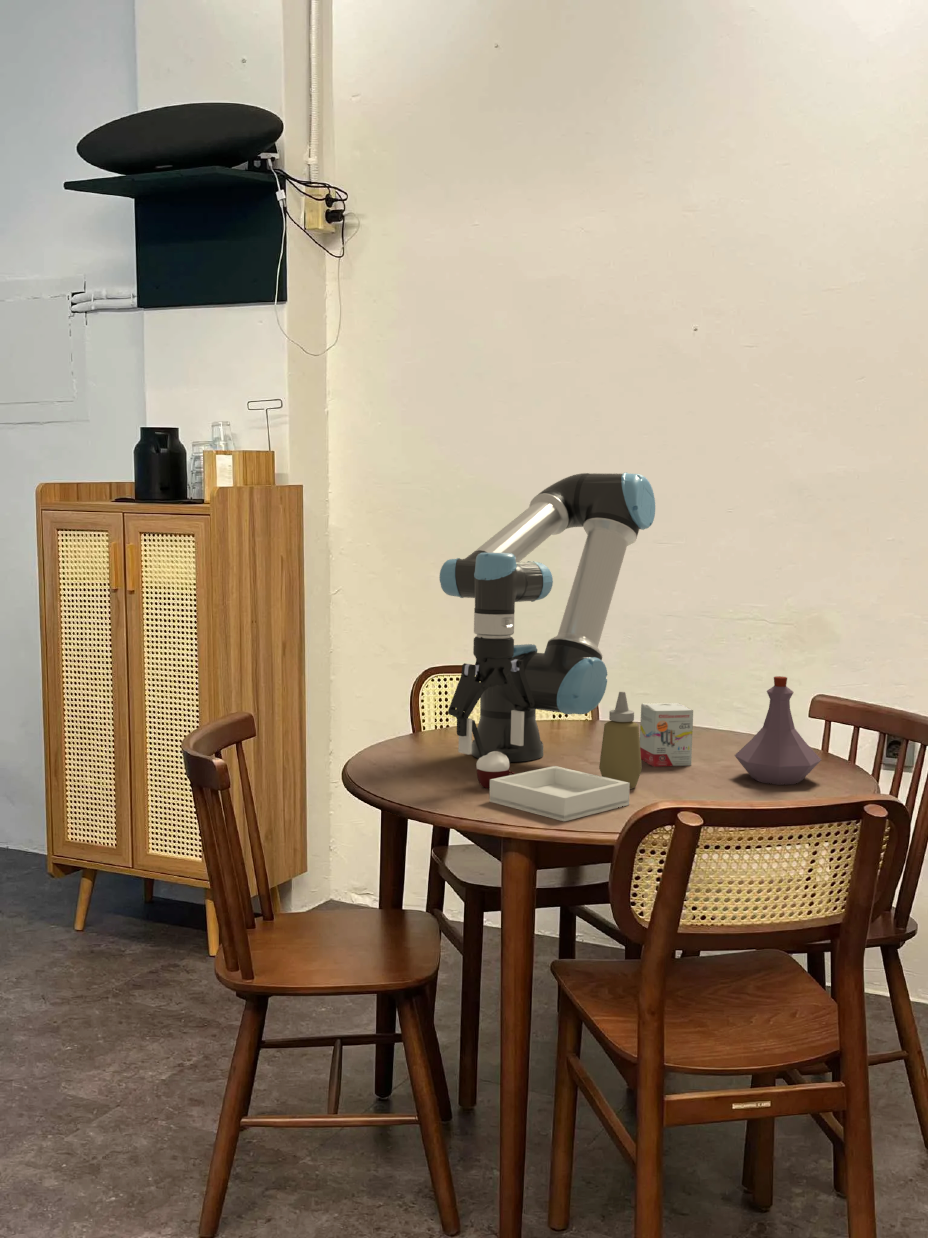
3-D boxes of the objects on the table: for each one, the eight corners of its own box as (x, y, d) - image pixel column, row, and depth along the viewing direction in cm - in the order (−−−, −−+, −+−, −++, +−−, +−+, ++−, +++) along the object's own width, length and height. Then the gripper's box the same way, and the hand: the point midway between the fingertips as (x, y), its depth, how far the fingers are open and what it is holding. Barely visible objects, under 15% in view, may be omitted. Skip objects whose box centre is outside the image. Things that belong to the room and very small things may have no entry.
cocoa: (519, 791, 233) (524, 727, 231) (493, 794, 229) (498, 730, 228) (487, 779, 240) (491, 718, 239) (461, 782, 236) (466, 720, 235)
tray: (554, 786, 234) (554, 765, 234) (629, 805, 221) (629, 782, 221) (489, 801, 223) (489, 779, 222) (564, 821, 210) (564, 798, 209)
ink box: (652, 767, 252) (654, 709, 251) (638, 758, 260) (639, 702, 259) (692, 765, 254) (694, 708, 253) (677, 757, 262) (678, 701, 261)
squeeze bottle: (595, 781, 239) (597, 688, 237) (636, 781, 239) (639, 688, 237) (602, 792, 231) (604, 695, 229) (645, 791, 231) (648, 695, 229)
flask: (715, 776, 245) (718, 675, 243) (774, 766, 254) (777, 669, 252) (779, 793, 231) (783, 686, 229) (839, 782, 240) (843, 679, 238)
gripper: (458, 641, 220) (456, 760, 222) (554, 634, 237) (551, 744, 239) (430, 637, 226) (428, 753, 228) (526, 630, 243) (523, 738, 245)
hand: (491, 749), depth 233 cm, fingers open, 13 cm apart
